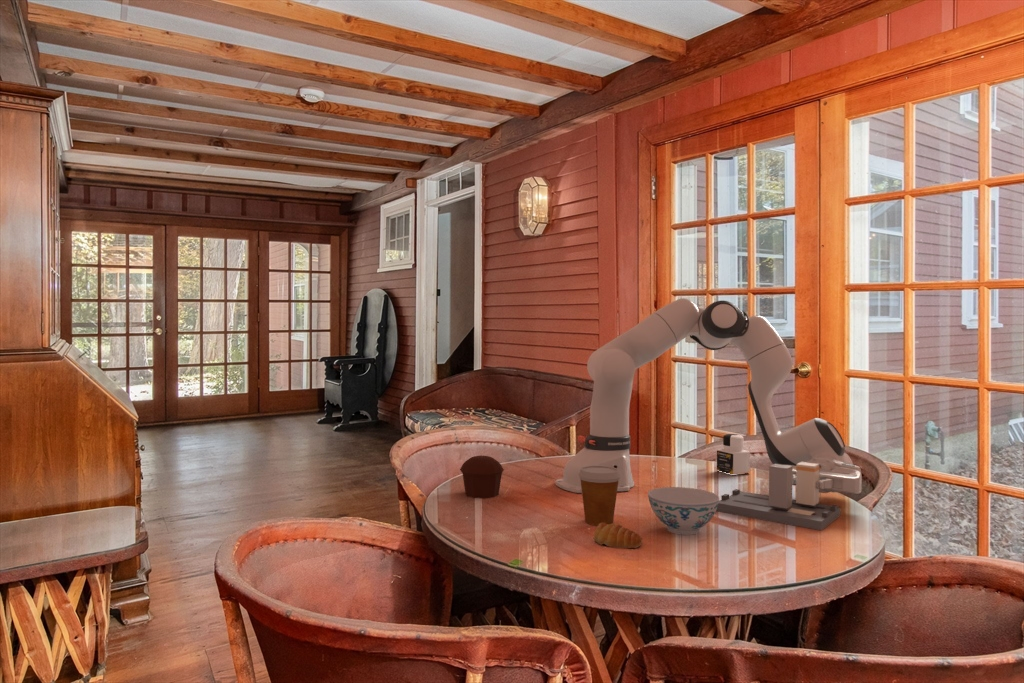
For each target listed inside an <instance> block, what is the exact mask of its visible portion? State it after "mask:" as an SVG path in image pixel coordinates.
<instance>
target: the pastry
mask: <svg viewBox="0 0 1024 683" xmlns="http://www.w3.org/2000/svg"><path fill="white" fill-rule="evenodd" d="M593 540H594V541H595V542H596V543H597V544H598V545H606V547H610V548H618V549H637V548H638V547H640V546H641V545H642V543H643V542H642V541H643V538H642V537H641V536H640V535H639V534H638V533H636V532H635V531H633V530H631V529H629V528H626V527H624V526H622V525H620V524H615V523H612V524H609V525H608V524H606V523H603V522H602V523H600V524H599V525H598V526H596V528H595V530H594V535H593Z"/></svg>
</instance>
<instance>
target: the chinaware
mask: <svg viewBox="0 0 1024 683" xmlns="http://www.w3.org/2000/svg"><path fill="white" fill-rule="evenodd" d="M647 495H648V496H647V497H648V501H649V504H650V507H651V509H652V512H653V514H655V516H656V517H657V519H658V520H659V521H660V522H661V523H663V524H664V525H665V526H666V530H667V531H668V532H670V533H673V534H677V535H685V536H686V535H687V536H690V535H697V534H698V533H699V532H700V528H702V527H704V526H705V525H707V524H708V523H709V522H710V521H711V520H712V519H713V517H714V516H715V514H716V512H717V511H716V509H717V507H718V503H719V501H720V496H719V495H718V494H716V493H714V492H712V491H708V490H705V489H701V488H700V489H699V488H693V487H692V488H691V487H685V486H684V487H683V486H681V487H680V486H677V487H676V486H667V487H665V486H663V487H656V488H653V489H651V490H648V492H647Z"/></svg>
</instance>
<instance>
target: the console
mask: <svg viewBox="0 0 1024 683" xmlns="http://www.w3.org/2000/svg"><path fill="white" fill-rule="evenodd" d="M720 498H721V499H719V503H718V507H717V509H716V512H719V513H726V514H731V515H737V516H742V517H748V518H751V519H756V520H757V519H758V520H763V521H768V522H773V523H780V524H785V525H790V526H795V527H799V528H806V529H812V530H816V531H823V530H824V529H826V528H827V527H828V526H829V525H830V524H832V523H833V522H834V521H836V520H837V519H838V518H839V517H840V516H841V507H840V506H838V505H837V504H831V505H828V504H822V503H818V506H817V507H815V508H814V507H808V506H802V505H797V503H796V499H793V498H792V506H791V509H789V510H782V509H776V508H770V506H769V494H768V495H767V494H763V493H754V492H749V491H741V489H740V488H739V489H736V488H735V489H733V490H732V492H731V494H728V493H724V494H722V495H721V497H720Z"/></svg>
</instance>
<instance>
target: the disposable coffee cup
mask: <svg viewBox="0 0 1024 683" xmlns="http://www.w3.org/2000/svg"><path fill="white" fill-rule="evenodd" d="M578 475H579V476H580V479H581V488H582V493H581V495H582V496H581V498H582V505H583V513H584V522H585V523H586V524H588V525H592V526H595V527H598V525H599V524H600V523H602V522H603V523H606V524H608V525H609V524H614V518H615V509H616V503H617V494H618V491H617V488H618V481H619V479H620V477H621V475H620V474H619V470H618V469H617V468H614V467H609V466H585V467H582V468H581V469H580V473H579V474H578Z"/></svg>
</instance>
